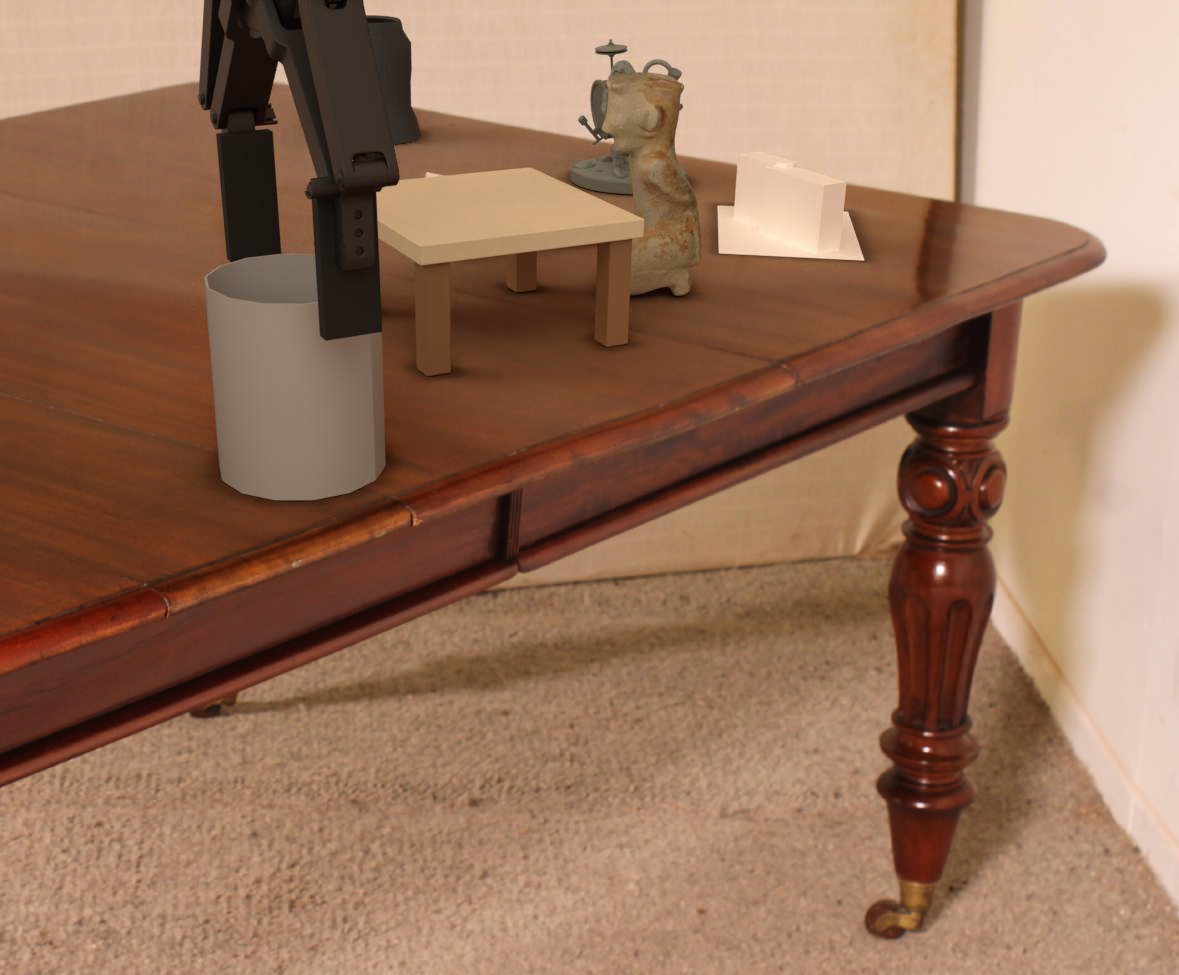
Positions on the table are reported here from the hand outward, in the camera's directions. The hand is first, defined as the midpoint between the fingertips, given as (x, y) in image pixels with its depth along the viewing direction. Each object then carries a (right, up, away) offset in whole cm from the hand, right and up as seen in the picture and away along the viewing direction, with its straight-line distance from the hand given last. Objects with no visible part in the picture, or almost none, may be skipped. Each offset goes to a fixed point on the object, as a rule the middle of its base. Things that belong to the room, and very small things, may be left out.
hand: (299, 293), depth 73 cm
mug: (-9, +26, +77) cm, 82 cm away
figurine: (+18, +18, +63) cm, 68 cm away
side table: (+7, +1, +25) cm, 26 cm away
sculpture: (+18, +4, +33) cm, 38 cm away
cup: (-1, -9, +4) cm, 9 cm away
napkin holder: (+30, +11, +49) cm, 58 cm away
